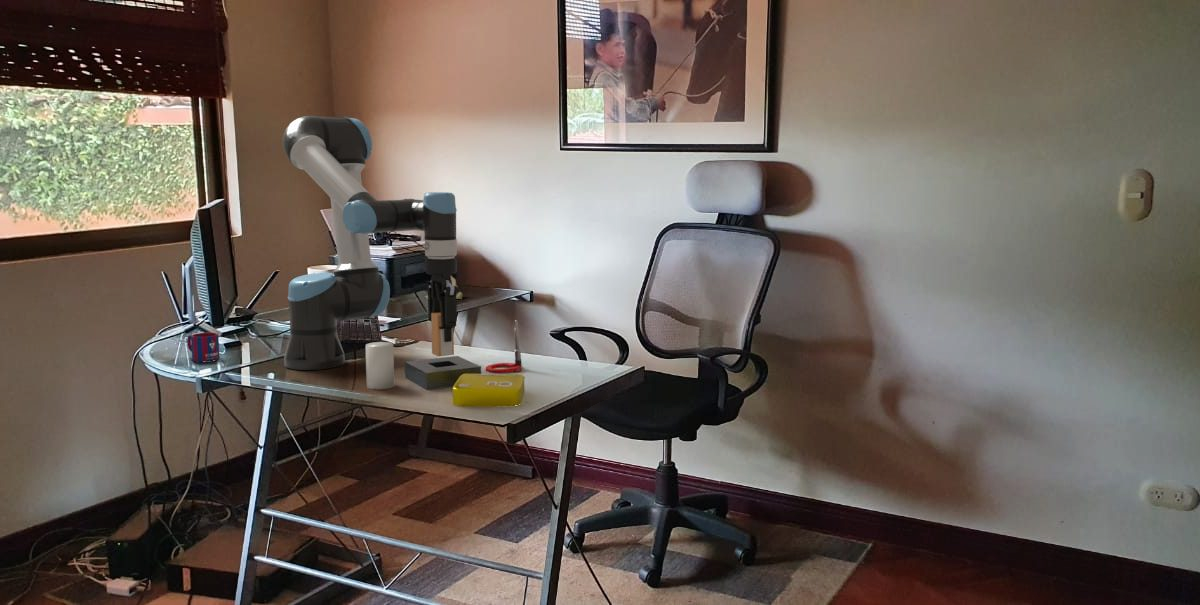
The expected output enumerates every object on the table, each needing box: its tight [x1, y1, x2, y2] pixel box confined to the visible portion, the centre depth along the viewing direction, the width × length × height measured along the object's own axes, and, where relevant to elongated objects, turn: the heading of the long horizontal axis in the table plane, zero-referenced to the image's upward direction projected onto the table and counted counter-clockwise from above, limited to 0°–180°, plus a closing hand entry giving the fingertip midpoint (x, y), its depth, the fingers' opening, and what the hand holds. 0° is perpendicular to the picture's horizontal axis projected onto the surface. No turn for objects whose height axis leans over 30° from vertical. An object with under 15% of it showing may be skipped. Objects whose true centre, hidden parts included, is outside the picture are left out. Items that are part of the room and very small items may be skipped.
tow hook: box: [485, 319, 523, 374], centre depth 237 cm, size 8×13×9 cm
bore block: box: [404, 355, 482, 390], centre depth 226 cm, size 14×14×4 cm
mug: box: [186, 331, 221, 363], centre depth 246 cm, size 7×10×7 cm
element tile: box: [451, 372, 525, 408], centre depth 210 cm, size 15×15×5 cm
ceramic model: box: [424, 275, 463, 300], centre depth 355 cm, size 14×11×10 cm
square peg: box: [430, 312, 455, 357], centre depth 224 cm, size 4×4×10 cm
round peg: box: [365, 341, 395, 390], centre depth 219 cm, size 6×6×10 cm
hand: (442, 352), depth 225 cm, fingers closed on square peg, 4 cm apart
